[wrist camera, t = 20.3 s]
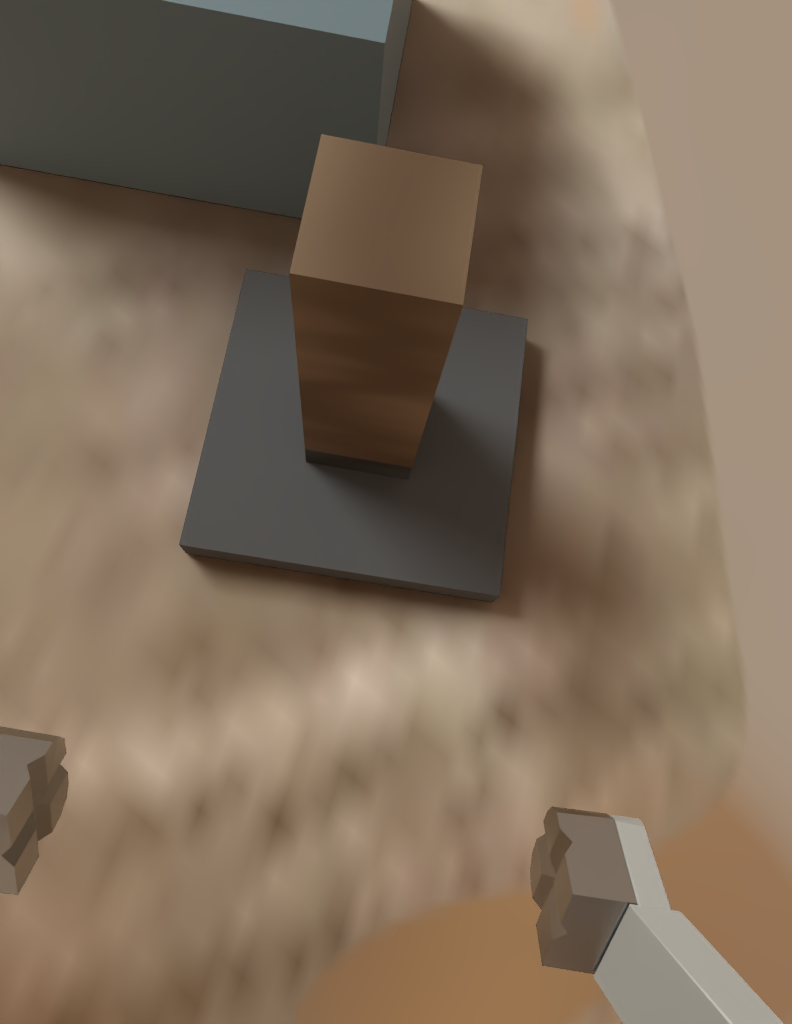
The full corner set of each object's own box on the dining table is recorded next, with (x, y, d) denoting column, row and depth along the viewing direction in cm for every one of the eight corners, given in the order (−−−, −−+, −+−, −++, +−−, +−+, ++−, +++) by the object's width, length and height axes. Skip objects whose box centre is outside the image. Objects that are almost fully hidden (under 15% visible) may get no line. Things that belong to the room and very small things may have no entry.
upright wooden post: (305, 461, 21) (289, 272, 12) (324, 370, 22) (321, 134, 13) (408, 479, 21) (463, 304, 12) (422, 388, 22) (483, 165, 13)
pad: (186, 553, 21) (179, 544, 20) (249, 288, 23) (246, 268, 22) (492, 601, 21) (500, 596, 20) (520, 335, 24) (527, 319, 23)
